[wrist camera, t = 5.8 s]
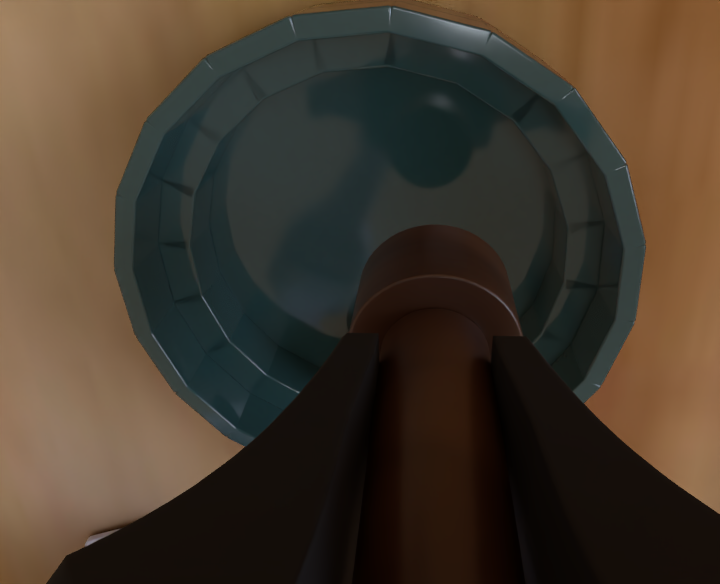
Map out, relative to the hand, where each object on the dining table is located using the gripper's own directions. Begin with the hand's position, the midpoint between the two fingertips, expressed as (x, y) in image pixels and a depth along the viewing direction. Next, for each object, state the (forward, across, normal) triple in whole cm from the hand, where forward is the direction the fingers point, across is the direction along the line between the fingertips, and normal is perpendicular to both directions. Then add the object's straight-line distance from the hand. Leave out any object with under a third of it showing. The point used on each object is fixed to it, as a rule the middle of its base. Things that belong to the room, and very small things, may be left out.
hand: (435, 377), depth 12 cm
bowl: (+10, +2, +1) cm, 11 cm away
